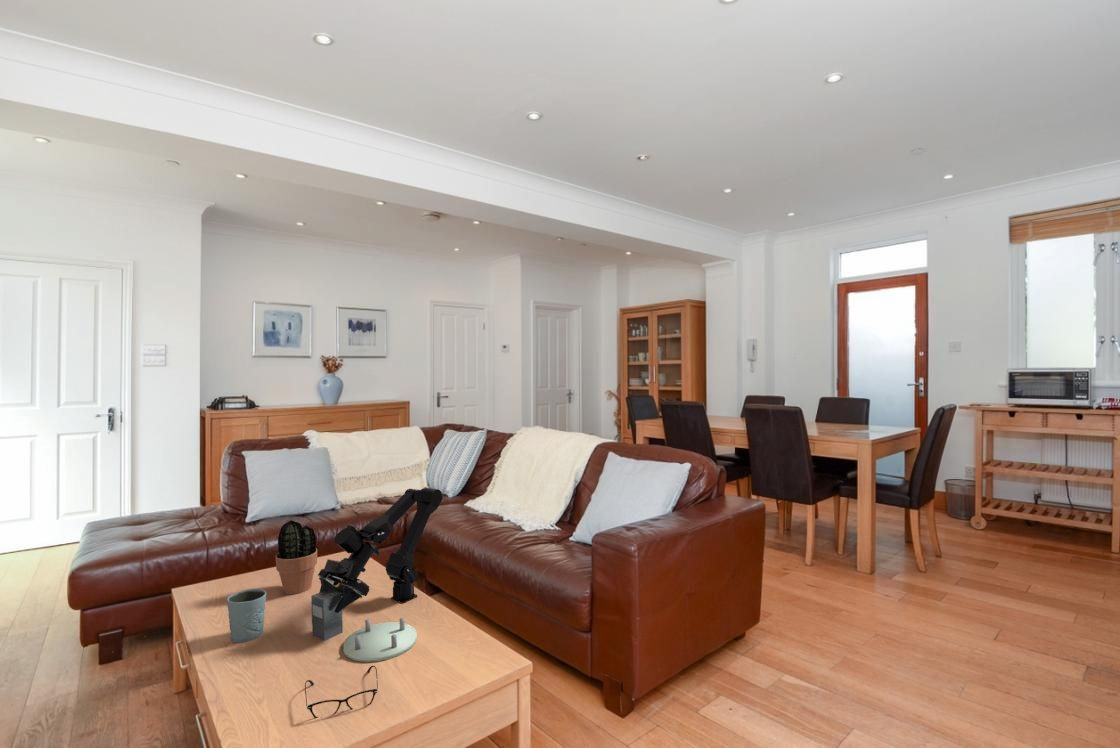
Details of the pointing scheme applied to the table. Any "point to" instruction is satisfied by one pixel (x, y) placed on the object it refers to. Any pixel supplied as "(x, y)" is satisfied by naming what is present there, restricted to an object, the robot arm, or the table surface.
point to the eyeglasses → (340, 700)
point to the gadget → (340, 588)
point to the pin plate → (380, 641)
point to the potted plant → (296, 557)
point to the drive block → (326, 614)
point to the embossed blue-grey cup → (246, 614)
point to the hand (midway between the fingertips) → (326, 608)
